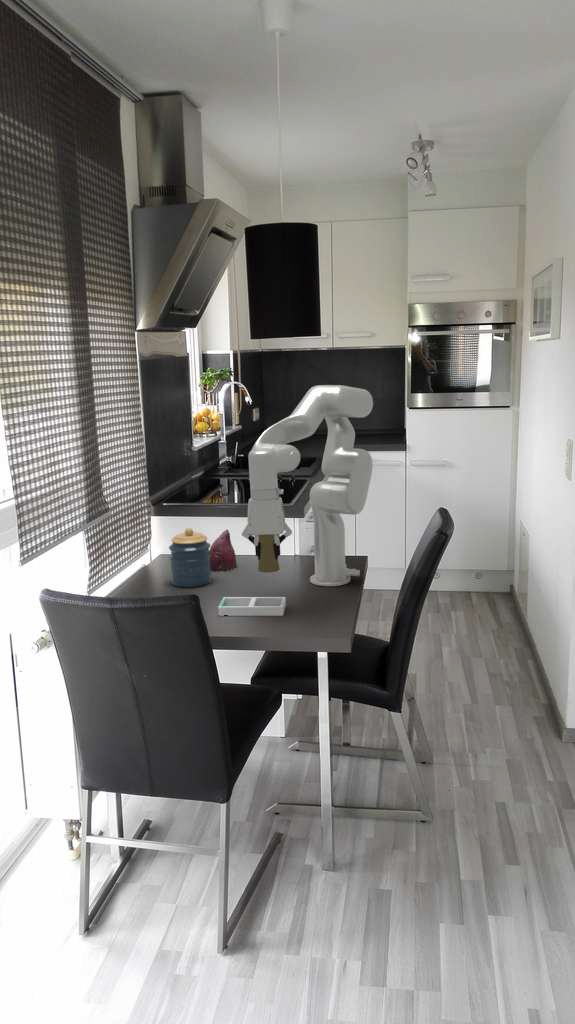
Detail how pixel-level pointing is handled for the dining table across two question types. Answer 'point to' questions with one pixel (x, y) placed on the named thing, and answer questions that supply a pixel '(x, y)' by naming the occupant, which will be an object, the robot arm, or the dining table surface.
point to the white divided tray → (252, 606)
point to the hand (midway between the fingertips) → (268, 557)
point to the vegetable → (222, 553)
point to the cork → (267, 554)
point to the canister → (190, 560)
